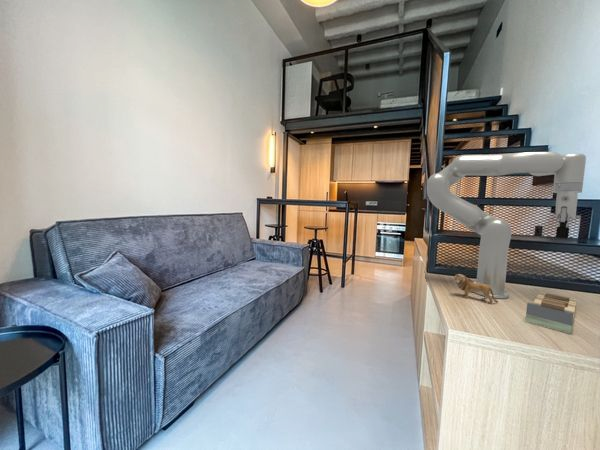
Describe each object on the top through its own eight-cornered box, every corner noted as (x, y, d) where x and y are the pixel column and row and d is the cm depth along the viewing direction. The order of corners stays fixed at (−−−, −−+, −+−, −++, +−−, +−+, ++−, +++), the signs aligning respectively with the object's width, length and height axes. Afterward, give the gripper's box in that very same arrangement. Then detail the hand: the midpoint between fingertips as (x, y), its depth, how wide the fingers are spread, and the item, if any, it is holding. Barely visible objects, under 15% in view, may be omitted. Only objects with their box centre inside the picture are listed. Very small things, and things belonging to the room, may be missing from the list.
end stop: (572, 325, 73) (573, 314, 73) (526, 314, 81) (527, 303, 81) (572, 324, 74) (573, 312, 74) (526, 312, 82) (528, 302, 82)
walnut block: (562, 321, 76) (564, 307, 76) (539, 316, 80) (541, 302, 79) (563, 317, 79) (565, 303, 79) (541, 311, 83) (543, 298, 83)
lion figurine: (452, 296, 102) (453, 274, 102) (453, 293, 107) (455, 271, 106) (498, 306, 94) (500, 282, 93) (498, 301, 98) (500, 278, 97)
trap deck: (571, 334, 74) (572, 325, 73) (525, 321, 81) (526, 314, 81) (575, 305, 96) (576, 298, 96) (539, 297, 104) (540, 291, 103)
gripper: (581, 187, 87) (575, 240, 88) (582, 189, 97) (577, 237, 98) (551, 187, 92) (545, 238, 94) (555, 190, 102) (550, 235, 104)
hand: (561, 237), depth 96 cm, fingers closed
